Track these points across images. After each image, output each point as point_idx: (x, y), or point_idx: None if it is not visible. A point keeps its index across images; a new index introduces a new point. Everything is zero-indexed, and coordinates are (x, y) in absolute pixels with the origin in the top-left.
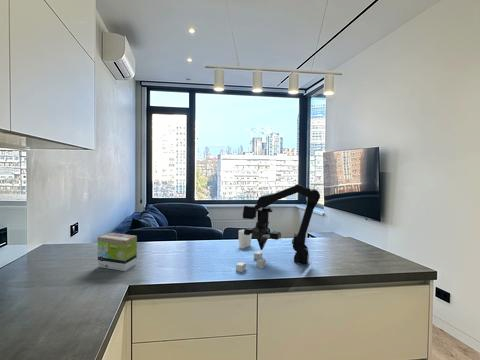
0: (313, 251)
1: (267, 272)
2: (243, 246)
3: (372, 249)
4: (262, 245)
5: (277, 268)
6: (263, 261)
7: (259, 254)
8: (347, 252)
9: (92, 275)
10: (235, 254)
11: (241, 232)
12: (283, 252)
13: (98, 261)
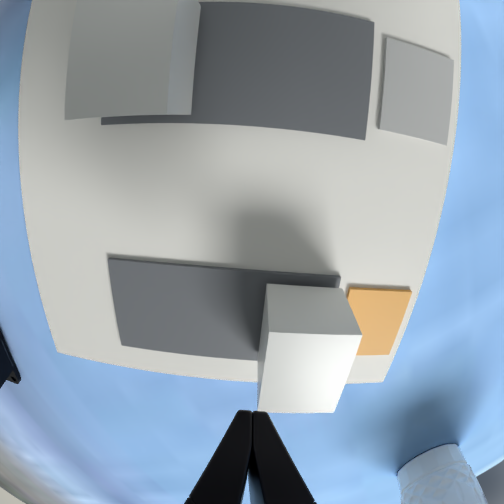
0: (84, 493)
1: None
2: (443, 458)
3: (4, 487)
4: (216, 476)
5: None
6: (75, 20)
7: (268, 331)
8: (14, 478)
9: None
10: (496, 350)
11: None
12: (183, 486)
13: None
